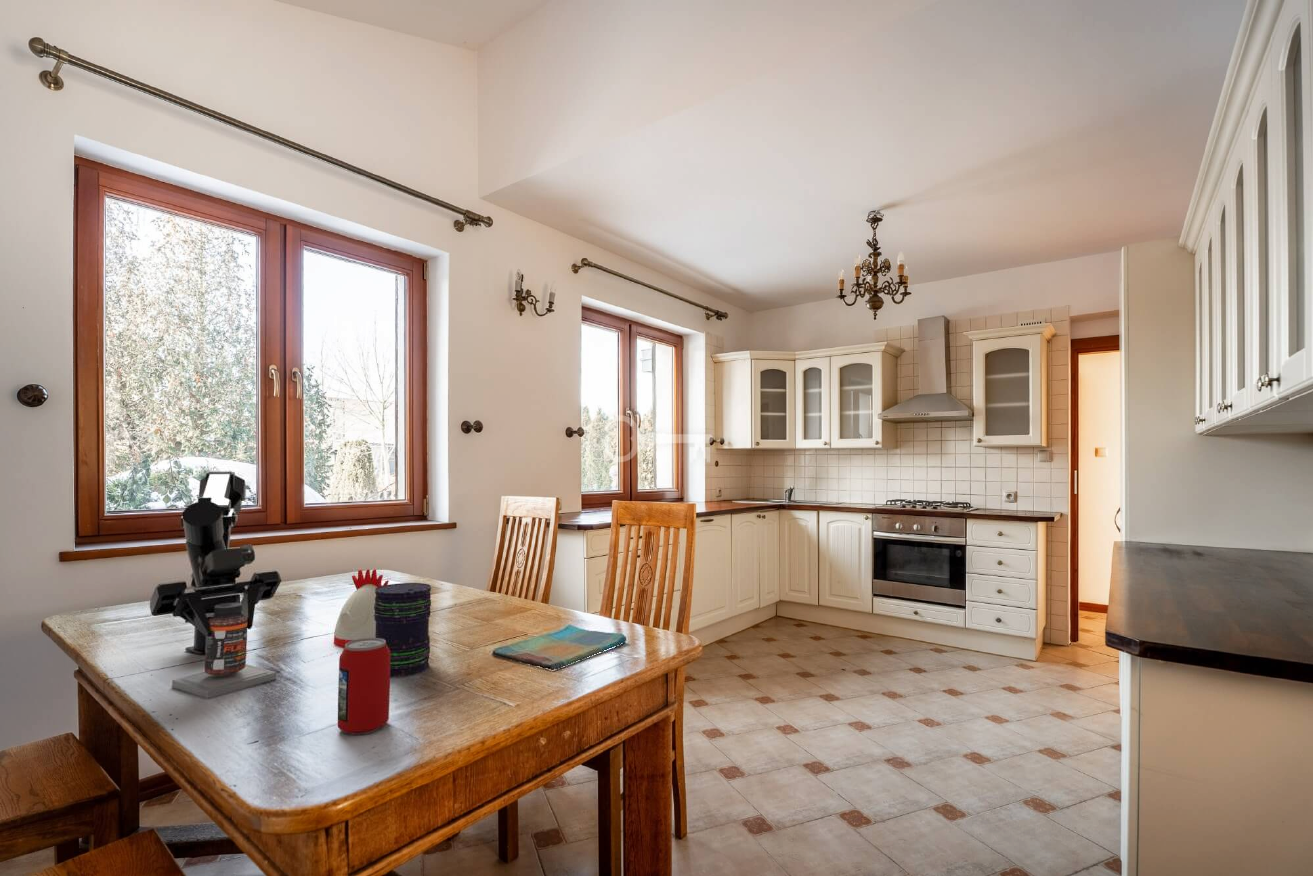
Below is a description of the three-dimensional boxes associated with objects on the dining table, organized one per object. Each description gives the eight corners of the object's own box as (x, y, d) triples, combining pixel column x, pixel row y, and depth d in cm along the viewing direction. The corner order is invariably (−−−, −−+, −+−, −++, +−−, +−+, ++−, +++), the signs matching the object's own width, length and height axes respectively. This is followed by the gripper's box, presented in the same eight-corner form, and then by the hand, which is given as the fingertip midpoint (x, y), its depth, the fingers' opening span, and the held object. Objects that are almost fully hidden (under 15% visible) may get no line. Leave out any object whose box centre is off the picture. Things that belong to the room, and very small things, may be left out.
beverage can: (348, 719, 95) (350, 637, 96) (395, 717, 96) (397, 636, 96) (328, 738, 88) (331, 649, 89) (379, 736, 89) (381, 649, 90)
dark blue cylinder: (363, 669, 118) (365, 587, 119) (414, 658, 126) (415, 580, 126) (387, 681, 112) (389, 595, 112) (439, 669, 119) (441, 587, 119)
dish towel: (629, 646, 137) (629, 634, 137) (554, 675, 118) (554, 660, 118) (568, 634, 147) (568, 622, 147) (489, 659, 127) (489, 646, 127)
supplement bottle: (225, 678, 107) (227, 609, 108) (195, 675, 108) (197, 607, 109) (254, 666, 113) (256, 602, 113) (225, 664, 114) (228, 600, 115)
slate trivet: (171, 687, 108) (172, 679, 108) (240, 669, 118) (240, 662, 118) (208, 698, 103) (208, 690, 103) (276, 679, 113) (276, 671, 113)
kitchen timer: (358, 630, 147) (360, 564, 148) (415, 632, 145) (416, 565, 146) (319, 646, 133) (321, 573, 134) (381, 649, 131) (382, 575, 132)
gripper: (157, 535, 107) (176, 612, 99) (279, 527, 121) (303, 594, 114) (142, 577, 111) (158, 654, 104) (260, 564, 126) (282, 631, 119)
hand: (230, 631), depth 110 cm, fingers closed on supplement bottle, 6 cm apart
